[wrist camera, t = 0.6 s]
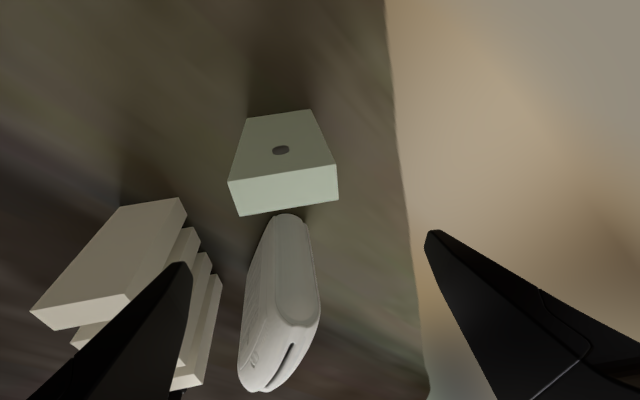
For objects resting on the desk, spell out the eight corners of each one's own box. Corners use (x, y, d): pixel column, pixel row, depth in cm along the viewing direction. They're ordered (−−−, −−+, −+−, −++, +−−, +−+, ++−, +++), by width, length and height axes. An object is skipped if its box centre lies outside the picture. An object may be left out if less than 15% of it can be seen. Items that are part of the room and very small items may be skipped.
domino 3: (164, 273, 27) (117, 379, 19) (156, 260, 26) (101, 367, 18) (212, 264, 28) (186, 365, 19) (206, 251, 26) (174, 352, 18)
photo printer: (278, 283, 31) (281, 409, 21) (242, 277, 29) (226, 410, 19) (312, 217, 26) (337, 338, 16) (271, 206, 25) (269, 332, 14)
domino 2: (149, 250, 25) (89, 358, 17) (139, 235, 24) (69, 342, 16) (201, 241, 26) (166, 342, 17) (193, 226, 24) (152, 326, 16)
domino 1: (131, 224, 23) (54, 330, 15) (119, 206, 22) (29, 311, 14) (187, 214, 24) (141, 313, 15) (178, 197, 23) (123, 293, 14)
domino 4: (178, 294, 29) (141, 398, 21) (170, 282, 28) (127, 387, 20) (223, 285, 30) (203, 385, 21) (216, 273, 28) (193, 373, 20)
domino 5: (253, 142, 21) (239, 216, 13) (246, 116, 20) (226, 178, 11) (313, 133, 21) (338, 199, 13) (310, 106, 20) (335, 161, 12)
